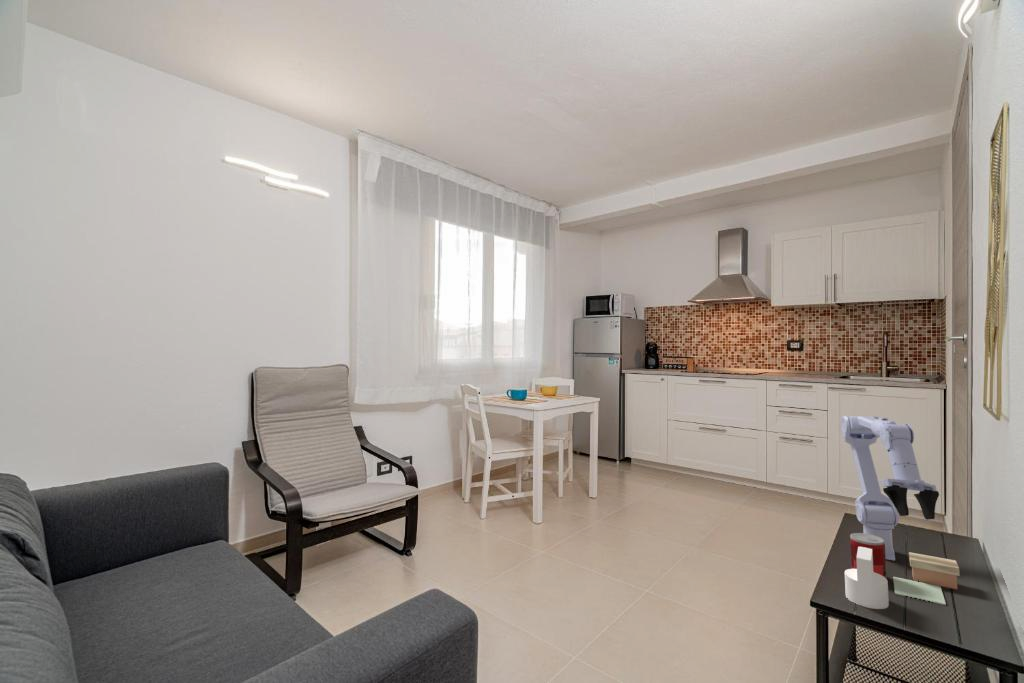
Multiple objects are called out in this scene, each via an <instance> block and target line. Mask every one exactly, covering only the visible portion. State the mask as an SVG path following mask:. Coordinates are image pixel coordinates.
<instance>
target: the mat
mask: <svg viewBox="0 0 1024 683" xmlns="http://www.w3.org/2000/svg"><path fill="white" fill-rule="evenodd" d="M892 579H893V580H892V581H893V589H894V594H895V595H898V596H902V597H905V596H908V597H907V598H910V597H912V598H911V599H914V598H917V599H916V600H919V599H921V600H920V601H923V600H925V601H924V602H928V601H930V602H929V603H932V602H933V603H932V604H936V605H941V606H947V603H946V599H945V597H944V593H943V591H942V586H938V585H933V584H928V583H923V582H918V581H914V580H912V579H907V578H902V577H897V576H893V577H892Z"/></svg>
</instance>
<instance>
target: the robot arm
mask: <svg viewBox="0 0 1024 683" xmlns="http://www.w3.org/2000/svg"><path fill="white" fill-rule="evenodd" d="M840 428H841V432H842V437H843V440H844V442H845V443H847V444H849V445H850V448H851V450H852V454H853V458H854V463H855V466H856V470H857V475H858V479H859V484H860V487H861V492H862V494H861V495H860V496H858V497H857V498H856V499H855V502H854V505H855V515H856V518H857V520H858V522H860V523H861V524H862V526H863V528H862V530H863V532H862V533H865V534H871V535H875V536H878V537H880V538H882V539H883V540H884V542H885V556H886V560H890V561H894V562H895V561H896V557H895V556H896V555H895V550H894V548H893V546H894V544H893V530H894V529H895V527H896V526H897V525H898V524H899V520H900V517H908V516H909V515H910V512H909V511H910V510H909V506H908V498H907V497H908V490H912V491H918V493H914V494H913V496H914V497H915V499H916V500H917V502H918V504H919V506H920V508H921V512H922V516H923V517H924V519H925V520H928V521H929V520H935V518H936V516H935V515H936V505H937V502H938V498H939V496H940V494H939V491H938V490H937V487H936V484H931V483H927V482H925V480H923V479H921V478H922V477H921V475H920V471H919V466H918V464H917V463H918V462H917V459H916V455H915V452H914V448H913V443H914V440H915V435H914V430H913V428H912V427H911V425H910V424H908V423H902V424H898V423H896V422H895V421H893V420H889V419H888V418H887V417H879V416H876V415H872V416H867V415H866V416H864V415H863V416H862V415H861V416H859V415H858V416H855V415H854V416H853V415H843V416H842V418H841V420H840ZM879 438H880V441H881V443H882V445H883V446H884V449H885V451H887V454H888V458H889V462H890V466H891V471H892V475H893V478H881V483H882V487H883V488H882V489H883V493H882V491H881V486H880V483H879V480H878V476H877V471H876V467H875V464H874V461H873V456H872V454H871V450H870V446H871V445H873V444H875V443H877V441H878V439H879ZM885 494H886V495H885ZM899 516H900V517H899Z"/></svg>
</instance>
